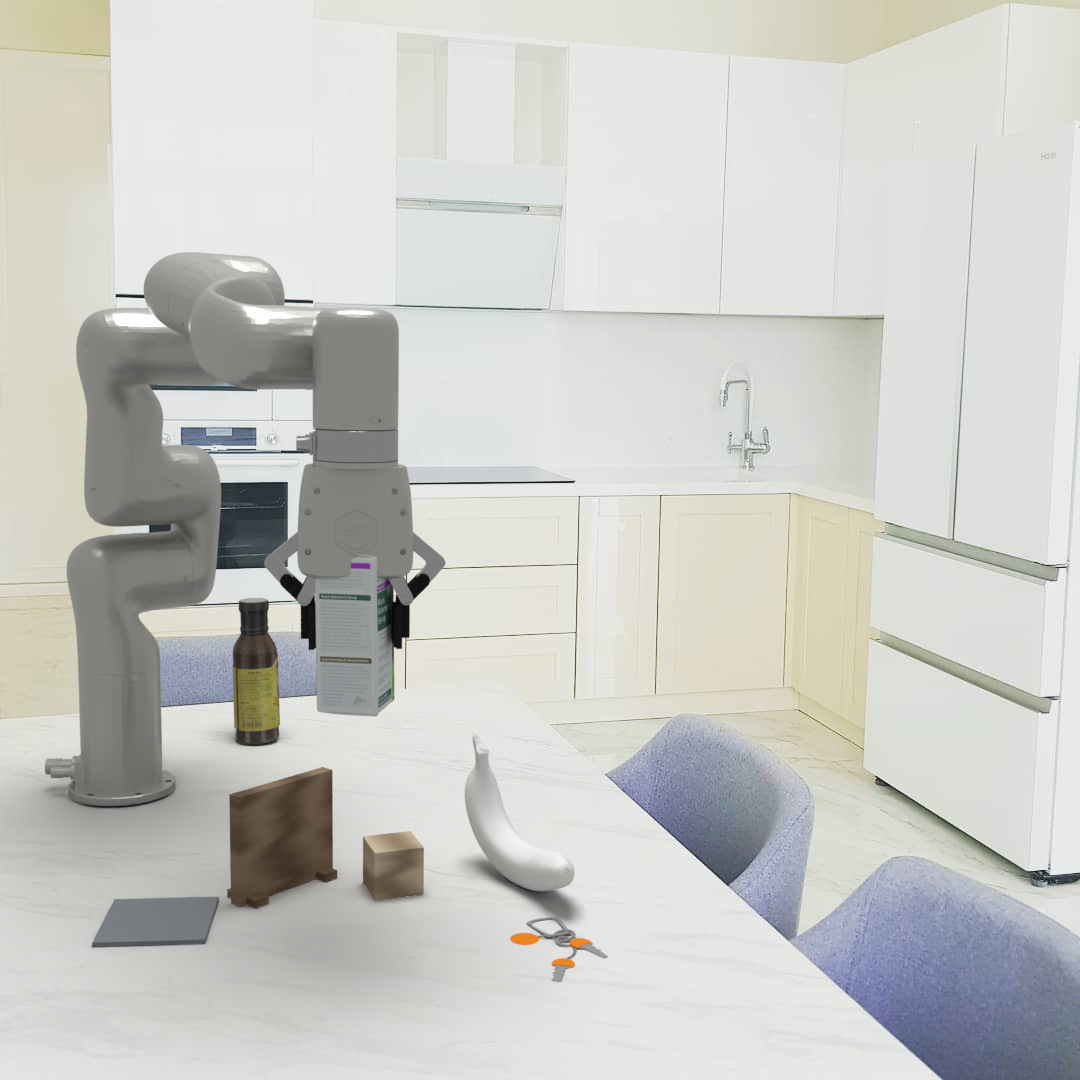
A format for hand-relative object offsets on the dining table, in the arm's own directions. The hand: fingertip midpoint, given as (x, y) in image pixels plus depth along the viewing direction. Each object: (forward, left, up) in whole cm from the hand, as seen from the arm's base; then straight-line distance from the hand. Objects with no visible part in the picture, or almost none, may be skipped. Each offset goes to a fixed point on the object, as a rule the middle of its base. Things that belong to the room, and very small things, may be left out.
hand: (355, 644), depth 123 cm
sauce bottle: (-16, +66, -28) cm, 73 cm away
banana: (+16, +11, -28) cm, 34 cm away
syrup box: (0, 0, -6) cm, 6 cm away
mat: (-19, +4, -27) cm, 33 cm away
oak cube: (+3, +11, -28) cm, 30 cm away
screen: (-8, +12, -27) cm, 31 cm away
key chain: (+18, -4, -28) cm, 34 cm away
